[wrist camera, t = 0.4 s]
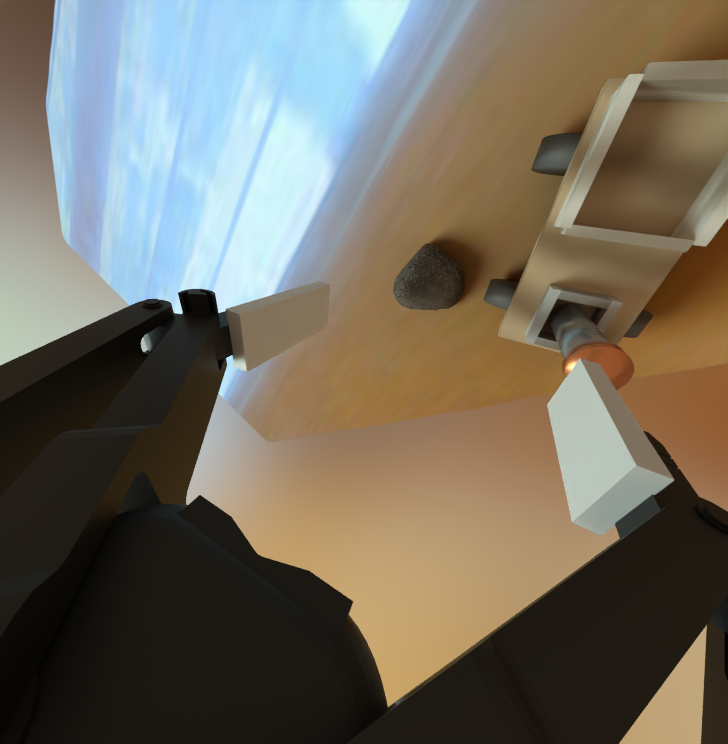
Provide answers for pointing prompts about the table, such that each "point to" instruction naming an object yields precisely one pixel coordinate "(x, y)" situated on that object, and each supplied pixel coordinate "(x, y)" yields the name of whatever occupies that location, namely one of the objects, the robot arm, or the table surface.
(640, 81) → the cart
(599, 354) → the pin
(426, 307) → the stone
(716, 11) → the table surface
